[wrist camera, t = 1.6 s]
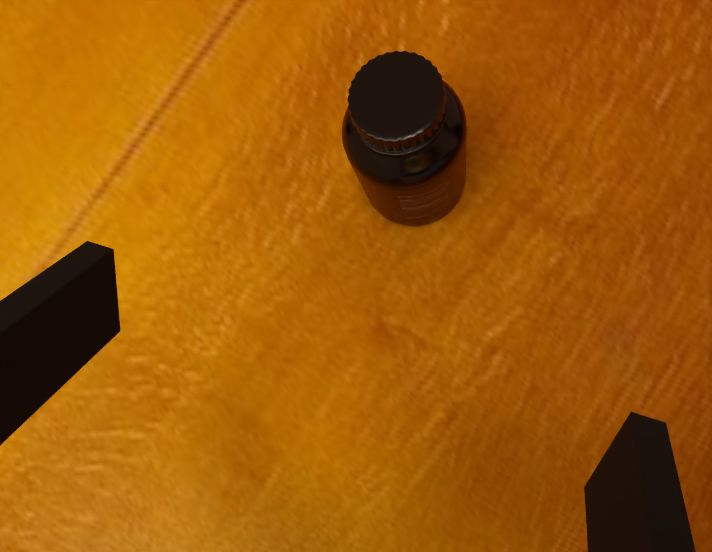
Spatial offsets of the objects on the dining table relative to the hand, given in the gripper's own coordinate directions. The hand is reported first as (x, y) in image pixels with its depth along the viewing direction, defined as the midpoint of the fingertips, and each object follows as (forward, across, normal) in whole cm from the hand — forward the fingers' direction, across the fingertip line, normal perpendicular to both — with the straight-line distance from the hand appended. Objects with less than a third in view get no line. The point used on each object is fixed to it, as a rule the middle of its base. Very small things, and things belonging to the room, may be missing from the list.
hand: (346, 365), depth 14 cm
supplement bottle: (+26, -2, -6) cm, 27 cm away
